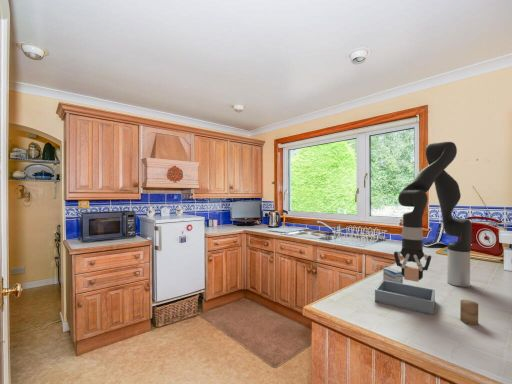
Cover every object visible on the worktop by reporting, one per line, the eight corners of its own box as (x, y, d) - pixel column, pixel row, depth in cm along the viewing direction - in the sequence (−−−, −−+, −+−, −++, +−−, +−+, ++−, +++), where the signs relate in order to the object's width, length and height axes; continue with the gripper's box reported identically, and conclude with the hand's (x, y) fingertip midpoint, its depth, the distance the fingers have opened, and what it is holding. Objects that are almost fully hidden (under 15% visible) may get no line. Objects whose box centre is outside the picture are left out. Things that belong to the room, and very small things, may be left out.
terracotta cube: (405, 276, 114) (406, 264, 114) (419, 278, 111) (419, 266, 111) (404, 279, 110) (404, 267, 110) (418, 281, 107) (418, 269, 107)
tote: (382, 290, 124) (382, 279, 124) (434, 301, 112) (435, 289, 112) (374, 301, 112) (374, 289, 112) (433, 315, 100) (433, 302, 100)
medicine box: (382, 285, 131) (382, 268, 131) (389, 284, 133) (389, 267, 133) (396, 291, 124) (396, 272, 124) (403, 289, 125) (403, 271, 125)
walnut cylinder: (460, 317, 98) (460, 298, 98) (477, 321, 95) (477, 301, 95) (460, 322, 94) (460, 303, 94) (478, 326, 91) (478, 306, 91)
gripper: (433, 238, 109) (432, 279, 109) (394, 234, 118) (394, 272, 118) (432, 240, 103) (431, 284, 103) (391, 236, 112) (391, 276, 112)
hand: (411, 277), depth 110 cm, fingers closed on terracotta cube, 5 cm apart
